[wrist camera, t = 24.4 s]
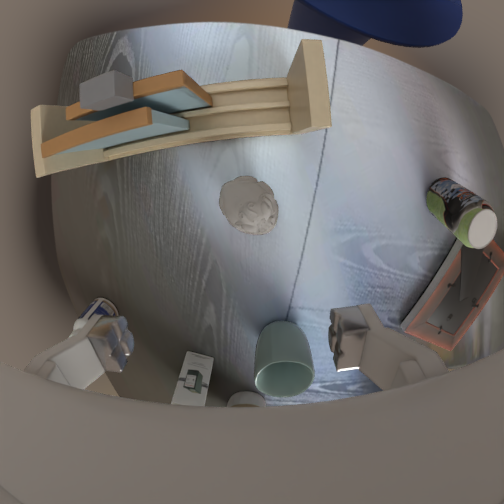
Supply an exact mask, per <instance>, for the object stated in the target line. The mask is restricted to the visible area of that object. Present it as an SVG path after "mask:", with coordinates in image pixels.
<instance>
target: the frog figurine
mask: <svg viewBox="0 0 504 504" xmlns="http://www.w3.org/2000/svg"><path fill="white" fill-rule="evenodd" d="M219 206H220V209H221V210H222V213H223V215H225V216H226V218H227V219H228V221H229V223H230V224H231V225H232V226H233V227H235V228H237V229H238V230H239V231H241V232H244V233H246V234H253V235H263V234H267V233H269V232H270V231H271V230H272V229H273V228H274V227H275V225H276V222H277V218H278V204H277V202H276V200H275V199H274V194H273V191H272V189H271V188H270V187H269V186H268V185H267V184H266V183H265V182H263V181H260V182H258V181H257V179H256V178H254V177H251V176H240V177H237V178H235V179H234V180H233V181H229V182H227V183H225V184H224V185H223V186H222V189H221V192H220V199H219Z"/></svg>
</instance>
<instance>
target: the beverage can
mask: <svg viewBox="0 0 504 504" xmlns="http://www.w3.org/2000/svg"><path fill="white" fill-rule="evenodd" d="M426 200H427V207H428V209H429V211H430V212H431V213H432V214H433V215H434V216H435V217H436V218H437V219H438V220H439V221H440V222H441V223H442V224H443V225H445V226H446V227H447V228H448V229H449V230H450V231H451V232H452V233H453V234H454V235H455V236H456V237H457V238H458V239H459V240H460V241H461V242H462V243H463V244H464V245H465V246H467V247H470V248H476V249H482V248H484V247H486V246H487V245H488V244H489V243H490V242H491V241H492V239H493V238H494V236H495V233H496V230H497V218H496V215H495V213H494V211H493V208H492V207H491V205H490V204H489V203H488V202H487V201H485V200H484V199H482V198H481V197H479V196H478V195H476V194H474V193H473V192H471V191H470V190H468V189H466V188H465V187H463V186H461V185H460V184H458V183H456V182H454V181H453V180H451V179H449V178H440V179H437V180H436V181H434V182H433V183H432V185H431V186H430V188H429V190H428V193H427V199H426Z"/></svg>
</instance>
